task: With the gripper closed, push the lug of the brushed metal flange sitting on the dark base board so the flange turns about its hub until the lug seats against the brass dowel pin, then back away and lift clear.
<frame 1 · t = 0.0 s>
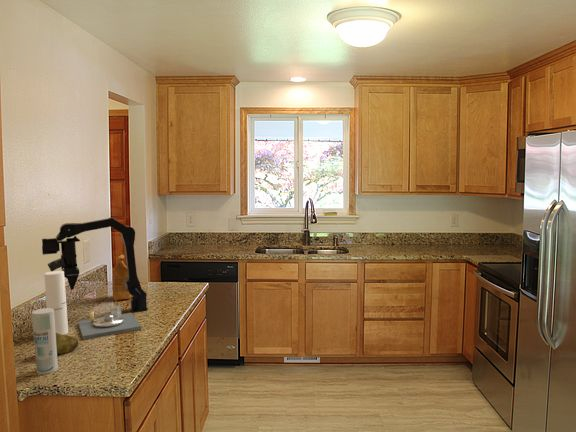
hand: (71, 287, 210), 15 cm above the worktop, tool pointing down, fingers open, 9 cm apart
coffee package: (123, 298, 247), on the worktop
base board: (109, 326, 201), on the worktop
potato: (58, 353, 173), on the worktop
cylindrical container: (58, 333, 194), on the worktop
spray can: (47, 370, 158), on the worktop
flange: (108, 316, 202), point 4 cm above the worktop, hinge at 0.0°
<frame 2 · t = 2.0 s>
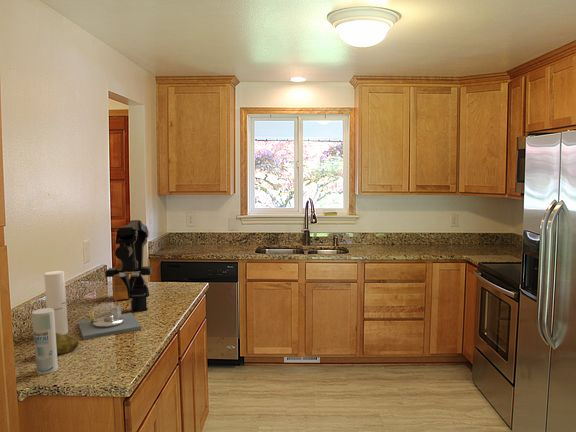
hand: (130, 291, 208), 13 cm above the worktop, tool pointing down, fingers closed
nothing on the worktop moved.
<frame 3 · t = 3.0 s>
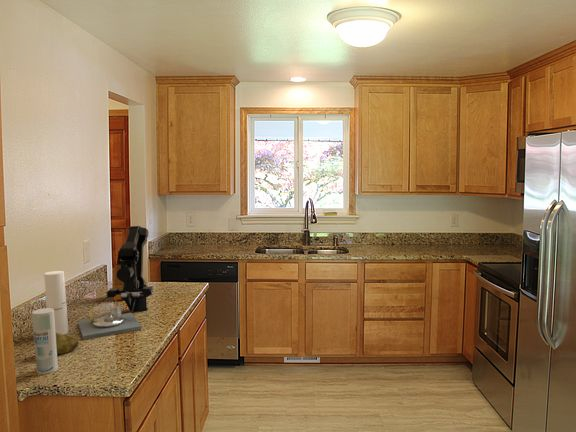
hand: (131, 311, 208), 4 cm above the worktop, tool pointing down, fingers closed
nothing on the worktop moved.
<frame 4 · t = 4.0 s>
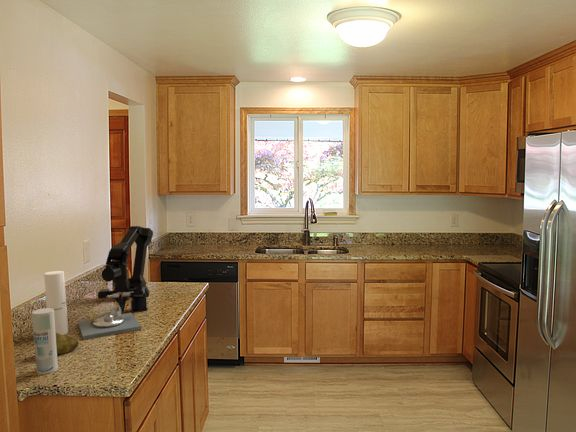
hand: (123, 311, 209), 4 cm above the worktop, tool pointing down, fingers closed
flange: (108, 316, 202), point 4 cm above the worktop, hinge at 0.7°, touching gripper
everything else where it was.
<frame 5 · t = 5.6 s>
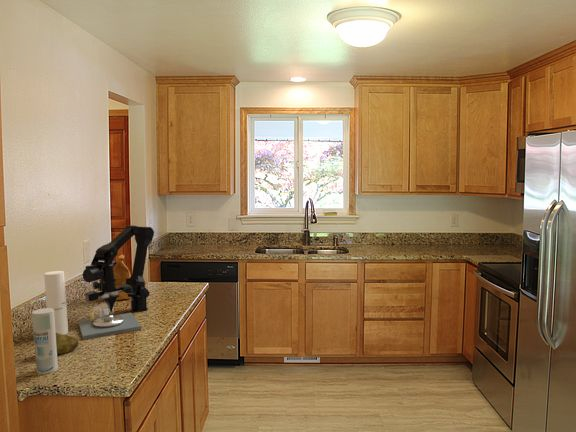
hand: (111, 311, 209), 4 cm above the worktop, tool pointing down, fingers closed
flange: (105, 316, 201), point 4 cm above the worktop, hinge at 34.8°, touching gripper
everything else where it was.
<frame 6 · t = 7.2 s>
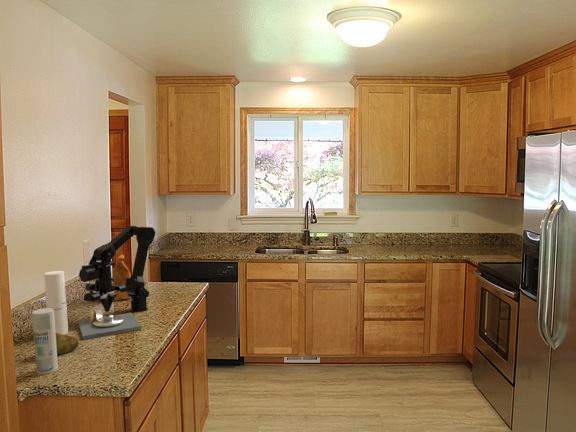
hand: (107, 311, 210), 4 cm above the worktop, tool pointing down, fingers closed
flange: (104, 317, 200), point 4 cm above the worktop, hinge at 60.0°
everything else where it was.
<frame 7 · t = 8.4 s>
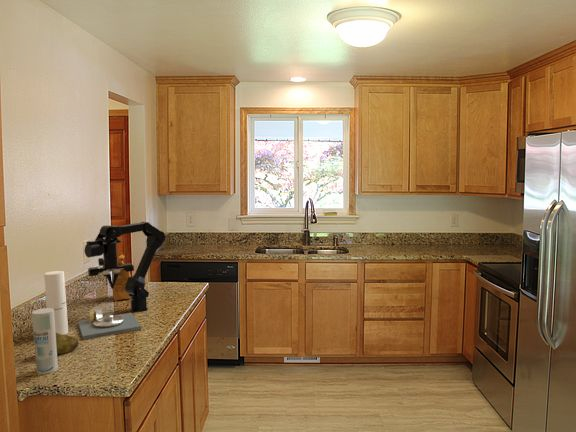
hand: (112, 288, 214), 13 cm above the worktop, tool pointing down, fingers closed
nothing on the worktop moved.
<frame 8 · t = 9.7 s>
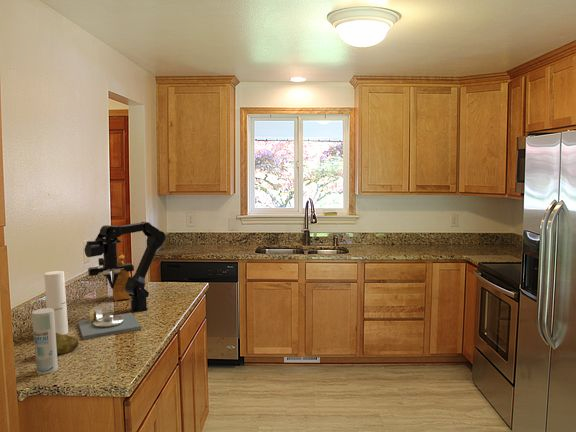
hand: (112, 288, 214), 13 cm above the worktop, tool pointing down, fingers closed
nothing on the worktop moved.
at the end: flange at +60° (first picture: +0°); the gripper is holding nothing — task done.
